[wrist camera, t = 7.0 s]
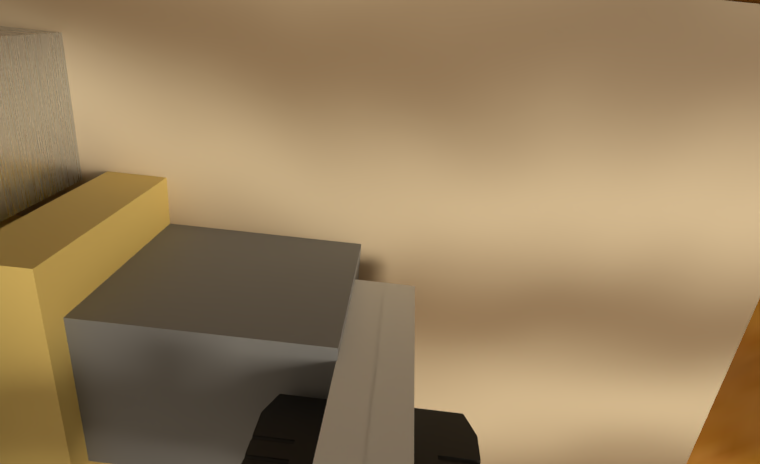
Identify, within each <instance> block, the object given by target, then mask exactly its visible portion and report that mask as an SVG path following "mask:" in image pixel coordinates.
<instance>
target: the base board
mask: <svg viewBox="0 0 760 464" xmlns="http://www.w3.org/2000/svg"><path fill="white" fill-rule="evenodd" d="M0 26H5V27H15V28H24V29H34V30H43V31H53V32H62V38H63V45H64V52H65V59H66V66H67V73H68V81H69V88H70V95H71V102H72V109H73V117H74V124H75V131H76V138H77V145H78V153H79V160H80V167H81V174H82V180H81V181H79V182H77V183H75V184H73V185H71V186H69V187H67V188H65V189H63V190H61V191H59V192H57V193H55V194H53V195H51V196H50V197H48V198H46V199H44V200H42V201H40V202H38V203H36V204H34V205H32V206H30V207H28V208H26V209H24V210H22V211H20V212H18V213H17V214H15V216H24V215H26V214H28V213H30V212H32V211H34V210H36V209H38V208H39V207H41V206H43V205H45V204H47V203H49V202H51V201H53V200H55V199H56V198H58V197H60V196H62V195H64V194H66V193H68V192H70V191H72V190H73V189H75V188H77V187H79V186H81V185H83V184H85V183H87V182H88V181H90V180H92V179H94V178H96V177H98V176H100V175H102V174H104V173H105V172H107V171H109V172H119V173H128V174H137V175H147V176H156V177H166V178H167V189H168V203H169V216H170V224H179V225H188V226H198V227H207V228H216V229H225V230H235V231H244V232H253V233H263V234H272V235H281V236H291V237H300V238H309V239H318V240H328V241H337V242H346V243H356V244H361V254H360V266H359V278H358V280H366V281H374V282H383V283H392V284H401V285H410V286H415V359H414V408H420V409H428V410H437V411H445V412H454V413H462V414H464V416H465V417H466V419H467V420H468V422H469V424H470V425H471V427H472V428H473V430H474V431H475V433H476V435H477V438H478V445H479V452H480V459H481V462H480V464H686V463H687V461H688V458H689V456H690V454H691V452H692V449H693V447H694V445H695V443H696V440H697V438H698V436H699V434H700V431H701V429H702V427H703V425H704V422H705V420H706V418H707V416H708V413H709V411H710V409H711V407H712V404H713V402H714V400H715V398H716V395H717V393H718V391H719V389H720V386H721V384H722V382H723V380H724V377H725V375H726V373H727V371H728V368H729V366H730V364H731V361H732V359H733V357H734V355H735V352H736V350H737V348H738V346H739V343H740V341H741V339H742V337H743V334H744V332H745V330H746V328H747V325H748V323H749V321H750V319H751V316H752V314H753V312H754V310H755V307H756V305H757V303H758V301H759V298H760V4H755V3H746V2H736V1H726V0H0Z"/></svg>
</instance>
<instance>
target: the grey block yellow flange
mask: <svg viewBox="0 0 760 464" xmlns="http://www.w3.org/2000/svg"><path fill="white" fill-rule="evenodd" d="M360 254H361V244H356V243H346V242H337V241H328V240H318V239H309V238H300V237H291V236H281V235H272V234H263V233H253V232H244V231H235V230H225V229H216V228H207V227H198V226H188V225H179V224H170V216H169V203H168V189H167V178H166V177H156V176H147V175H137V174H128V173H119V172H109V171H107V172H105V173H104V174H102V175H100V176H98V177H96V178H94V179H92V180H90V181H88V182H87V183H85V184H83V185H81V186H79V187H77V188H75V189H73V190H72V191H70V192H68V193H66V194H64V195H62V196H60V197H58V198H56V199H55V200H53V201H51V202H49V203H47V204H45V205H43V206H41V207H39V208H38V209H36V210H34V211H32V212H30V213H28V214H26V215H24V216H15V215H13V216H11V217H9V218H7V219H5V220H3V221H1V222H0V464H241V463H242V461H243V459H244V458H245V453H246V450H247V448H248V445H249V443H250V440H252V435H253V432H254V430H255V427H256V425H257V422H258V419H259V417H260V414H261V412H262V411H263V410H264V409H265V408H266V407H267V406H268V405H269V404H270V403H271V402H272V401H273V400H274V399H275V398H276V397H277V396H278V395H279V394H287V395H295V396H303V397H312V398H320V399H328V395H329V390H330V386H331V381H332V377H333V373H334V368H335V364H336V361H337V360H338V355H339V351H340V346H341V341H342V337H343V332H344V328H345V323H346V318H347V314H348V309H349V305H350V300H351V295H352V291H353V286H354V282H355V279H357V280H358V278H359V266H360Z"/></svg>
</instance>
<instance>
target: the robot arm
mask: <svg viewBox="0 0 760 464" xmlns="http://www.w3.org/2000/svg"><path fill="white" fill-rule="evenodd" d="M414 359H415V286H410V285H401V284H392V283H383V282H374V281H366V280H357V279H355V282H354V286H353V291H352V295H351V300H350V305H349V309H348V314H347V318H346V323H345V328H344V332H343V337H342V341H341V346H340V351H339V355H338V360H337V361H336V364H335V368H334V373H333V377H332V381H331V386H330V390H329V395H328V399H320V398H312V397H303V396H295V395H287V394H279V395H278V396H277V397H276V398H275V399H274V400H273V401H272V402H271V403H270V404H269V405H268V406H267V407H266V408H265V409H264V410H263V411H262V412H261V414H260V417H259V419H258V422H257V425H256V427H255V430H254V432H253V435H252V440H250V443H249V445H248V448H247V450H246V453H245V458H244V459H243V461H242V463H241V464H480V462H481V459H480V452H479V445H478V438H477V435H476V433H475V431H474V430H473V428H472V427H471V425H470V424H469V422H468V420H467V419H466V417H465V416H464V414H462V413H454V412H445V411H437V410H428V409H420V408H414Z"/></svg>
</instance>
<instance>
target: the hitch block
mask: <svg viewBox="0 0 760 464" xmlns="http://www.w3.org/2000/svg"><path fill="white" fill-rule="evenodd" d="M81 180H82V174H81V167H80V160H79V153H78V145H77V138H76V131H75V124H74V117H73V109H72V102H71V95H70V88H69V81H68V73H67V66H66V59H65V52H64V45H63V38H62V32H53V31H43V30H34V29H24V28H15V27H5V26H0V222H1V221H3V220H5V219H7V218H9V217H11V216H13V215H15V214H17V213H18V212H20V211H22V210H24V209H26V208H28V207H30V206H32V205H34V204H36V203H38V202H40V201H42V200H44V199H46V198H48V197H50V196H51V195H53V194H55V193H57V192H59V191H61V190H63V189H65V188H67V187H69V186H71V185H73V184H75V183H77V182H79V181H81Z"/></svg>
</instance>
